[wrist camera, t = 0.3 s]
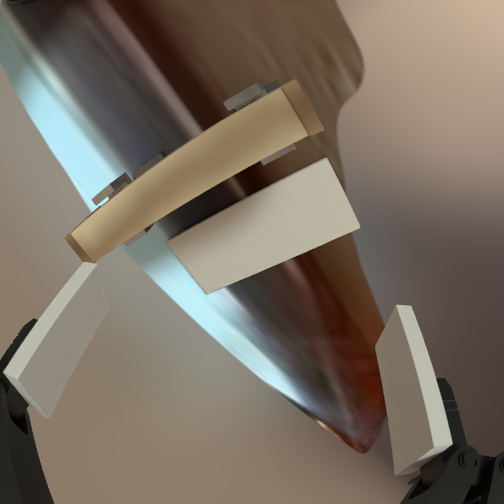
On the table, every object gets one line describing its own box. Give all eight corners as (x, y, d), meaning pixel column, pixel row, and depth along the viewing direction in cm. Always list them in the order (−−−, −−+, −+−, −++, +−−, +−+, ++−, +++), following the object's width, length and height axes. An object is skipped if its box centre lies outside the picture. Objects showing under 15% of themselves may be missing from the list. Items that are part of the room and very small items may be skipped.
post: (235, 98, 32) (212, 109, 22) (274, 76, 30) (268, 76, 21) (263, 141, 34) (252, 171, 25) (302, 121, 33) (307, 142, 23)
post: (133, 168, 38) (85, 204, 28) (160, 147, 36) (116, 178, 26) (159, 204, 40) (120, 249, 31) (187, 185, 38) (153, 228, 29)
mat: (167, 240, 43) (166, 242, 43) (326, 157, 34) (327, 158, 34) (208, 291, 47) (207, 294, 47) (359, 225, 38) (360, 227, 38)
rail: (95, 209, 31) (64, 238, 26) (294, 78, 22) (295, 79, 17) (115, 236, 33) (88, 267, 27) (316, 117, 24) (324, 129, 19)
